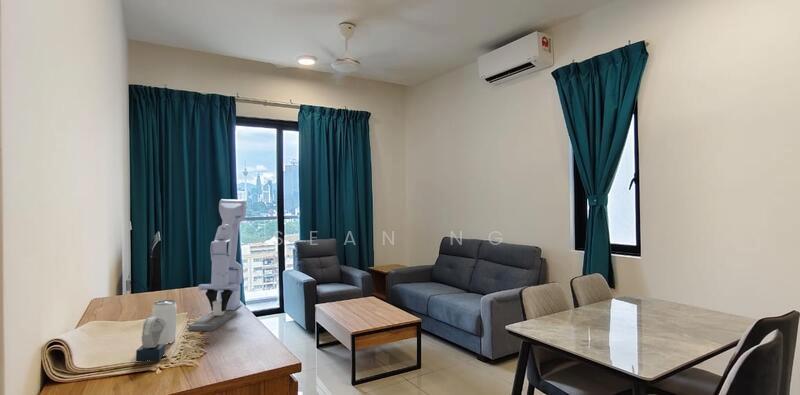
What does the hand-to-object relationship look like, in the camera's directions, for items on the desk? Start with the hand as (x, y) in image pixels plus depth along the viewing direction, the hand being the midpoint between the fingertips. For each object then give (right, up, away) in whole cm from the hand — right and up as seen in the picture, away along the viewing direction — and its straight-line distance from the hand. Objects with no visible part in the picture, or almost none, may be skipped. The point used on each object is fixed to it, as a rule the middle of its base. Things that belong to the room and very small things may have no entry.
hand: (218, 310), depth 149 cm
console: (0, -3, -5) cm, 6 cm away
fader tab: (0, -1, 0) cm, 1 cm away
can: (-5, -3, -26) cm, 26 cm away
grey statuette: (-1, -3, -39) cm, 39 cm away
